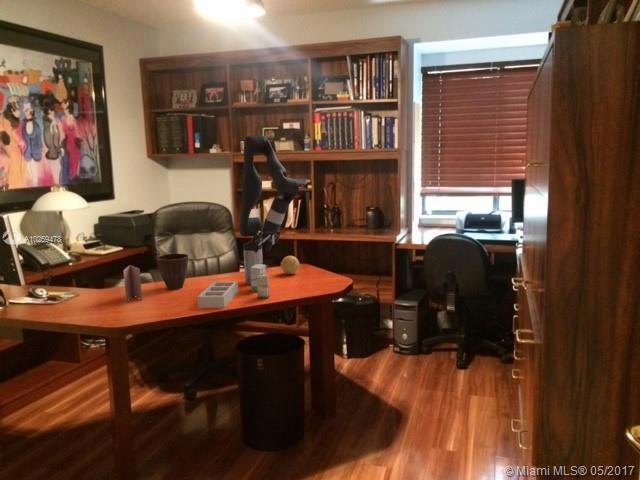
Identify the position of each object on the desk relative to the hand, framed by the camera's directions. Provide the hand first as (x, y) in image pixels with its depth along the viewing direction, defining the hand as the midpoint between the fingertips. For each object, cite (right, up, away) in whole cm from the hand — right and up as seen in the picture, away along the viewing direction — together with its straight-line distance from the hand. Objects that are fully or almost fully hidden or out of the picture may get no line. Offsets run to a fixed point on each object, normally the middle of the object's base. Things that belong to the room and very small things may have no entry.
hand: (261, 251), depth 243 cm
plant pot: (-46, -19, +25) cm, 55 cm away
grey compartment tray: (-19, -22, +2) cm, 29 cm away
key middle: (-19, -19, +1) cm, 28 cm away
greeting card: (-59, -22, +7) cm, 64 cm away
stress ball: (+10, -14, +48) cm, 51 cm away
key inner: (-19, -18, +9) cm, 28 cm away
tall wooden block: (+1, -21, +3) cm, 21 cm away
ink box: (-3, -19, +17) cm, 26 cm away
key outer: (-20, -21, -7) cm, 30 cm away
